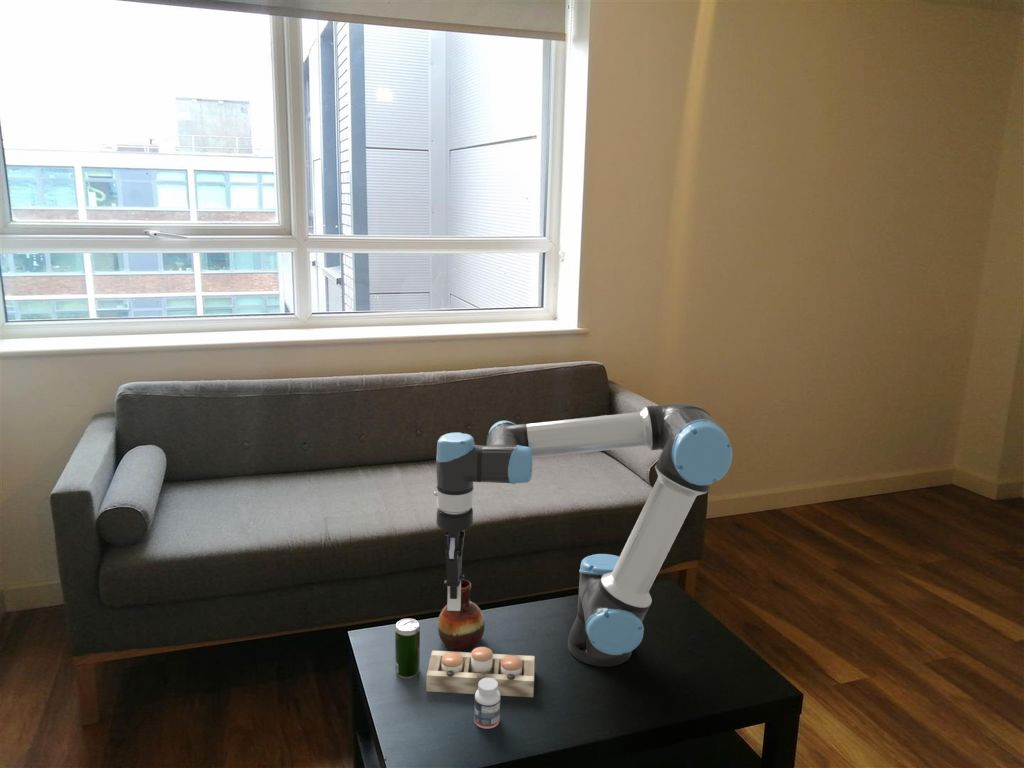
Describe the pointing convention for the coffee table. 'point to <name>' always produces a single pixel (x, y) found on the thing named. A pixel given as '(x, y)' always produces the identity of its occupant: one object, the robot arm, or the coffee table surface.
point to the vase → (462, 623)
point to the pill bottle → (487, 704)
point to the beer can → (407, 648)
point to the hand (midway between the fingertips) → (454, 608)
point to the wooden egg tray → (479, 676)
